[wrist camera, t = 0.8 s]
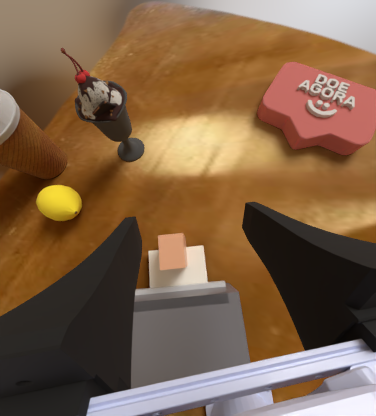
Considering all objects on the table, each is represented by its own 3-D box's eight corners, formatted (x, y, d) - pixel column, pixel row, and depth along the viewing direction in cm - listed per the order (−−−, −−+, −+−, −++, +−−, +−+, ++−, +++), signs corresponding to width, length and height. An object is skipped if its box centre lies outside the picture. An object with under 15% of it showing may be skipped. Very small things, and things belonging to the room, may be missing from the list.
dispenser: (238, 349, 22) (253, 383, 16) (132, 358, 22) (109, 395, 16) (227, 278, 24) (237, 285, 18) (131, 287, 24) (111, 298, 19)
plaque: (251, 113, 28) (288, 55, 31) (245, 129, 31) (278, 76, 34) (365, 161, 24) (394, 90, 27) (343, 173, 28) (370, 110, 31)
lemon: (51, 212, 29) (17, 201, 24) (72, 187, 30) (43, 171, 25) (77, 232, 27) (45, 224, 22) (98, 204, 28) (72, 190, 23)
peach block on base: (214, 340, 22) (219, 365, 17) (152, 346, 22) (140, 372, 17) (201, 235, 25) (202, 230, 20) (149, 241, 25) (137, 237, 21)
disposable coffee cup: (77, 180, 30) (1, 133, 18) (24, 193, 30) (-87, 153, 18) (75, 136, 32) (7, 71, 21) (26, 148, 32) (-70, 88, 21)
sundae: (118, 132, 32) (53, 32, 18) (152, 136, 31) (114, 35, 17) (108, 163, 30) (28, 80, 16) (144, 167, 30) (94, 85, 15)
